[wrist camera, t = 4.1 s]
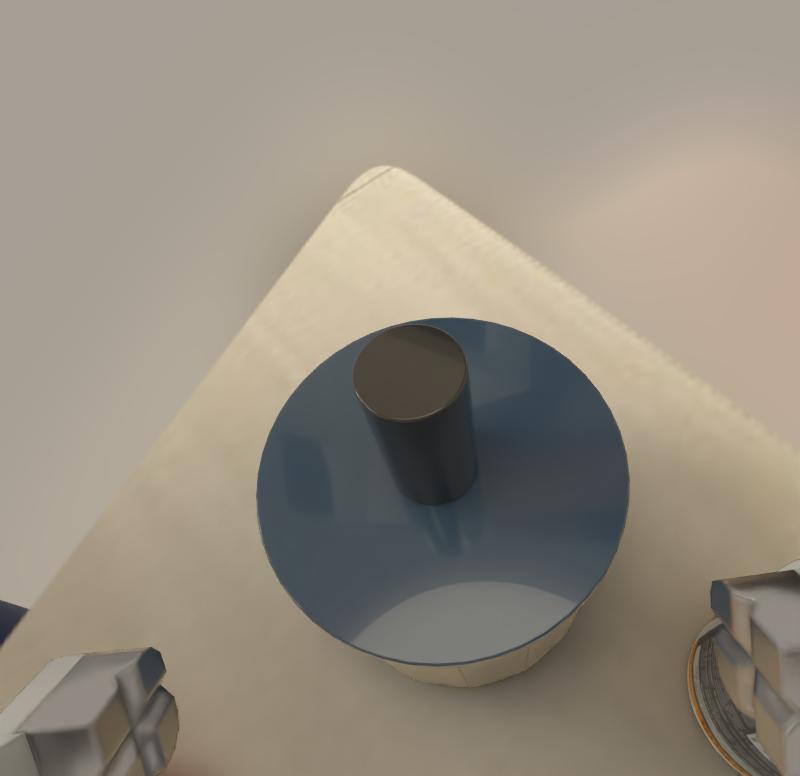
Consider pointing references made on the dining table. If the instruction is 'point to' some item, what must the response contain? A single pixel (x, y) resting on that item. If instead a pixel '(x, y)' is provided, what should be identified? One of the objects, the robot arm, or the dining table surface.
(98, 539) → the dining table surface
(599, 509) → the lid
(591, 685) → the dining table surface
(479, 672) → the blue pot
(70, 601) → the dining table surface
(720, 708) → the pill bottle
